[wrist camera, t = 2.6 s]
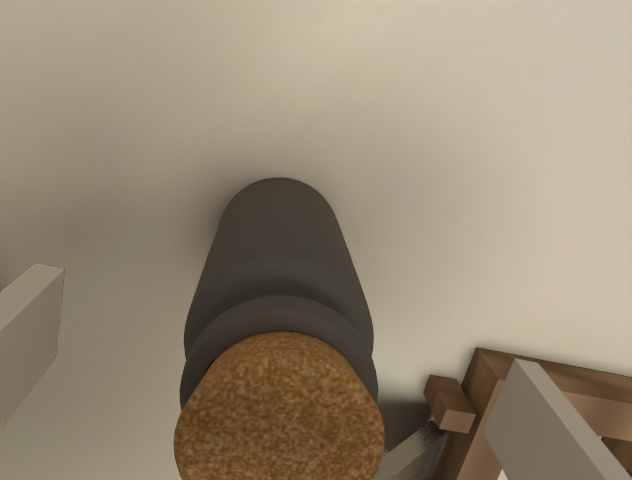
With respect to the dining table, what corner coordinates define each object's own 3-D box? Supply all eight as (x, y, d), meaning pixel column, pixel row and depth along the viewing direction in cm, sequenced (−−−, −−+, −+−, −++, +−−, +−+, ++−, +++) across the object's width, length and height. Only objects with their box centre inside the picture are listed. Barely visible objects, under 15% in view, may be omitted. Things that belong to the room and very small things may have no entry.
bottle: (265, 152, 24) (247, 283, 10) (362, 222, 26) (464, 423, 12) (196, 247, 26) (93, 481, 11) (292, 309, 27) (306, 584, 13)
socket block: (381, 509, 32) (390, 552, 29) (442, 340, 28) (461, 372, 25) (584, 537, 34) (612, 581, 31) (666, 384, 30) (706, 417, 27)
